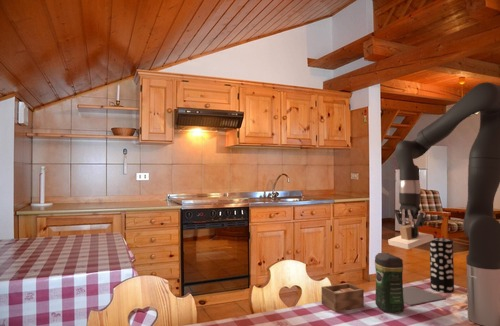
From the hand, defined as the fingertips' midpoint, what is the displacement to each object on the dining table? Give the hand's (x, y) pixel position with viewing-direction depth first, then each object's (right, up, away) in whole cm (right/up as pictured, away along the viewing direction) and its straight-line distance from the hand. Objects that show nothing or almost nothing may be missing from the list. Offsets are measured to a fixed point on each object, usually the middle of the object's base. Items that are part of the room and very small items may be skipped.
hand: (410, 236), depth 130 cm
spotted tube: (+16, -23, +6) cm, 29 cm away
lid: (0, -2, 0) cm, 2 cm away
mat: (0, -22, -1) cm, 22 cm away
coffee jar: (-14, -22, -14) cm, 29 cm away
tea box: (-29, -22, -11) cm, 38 cm away
